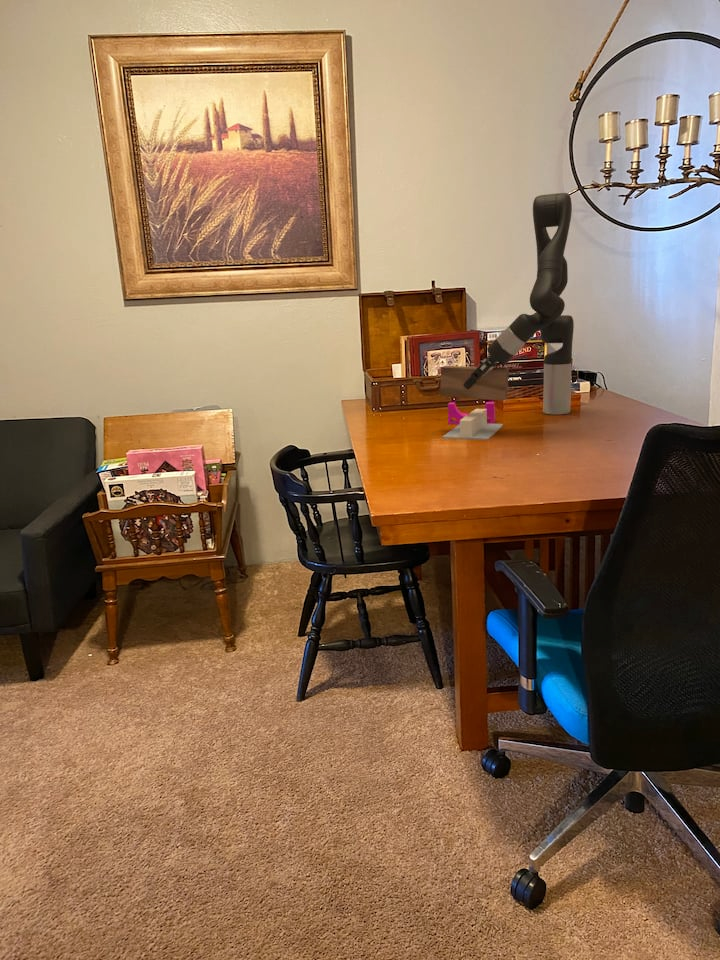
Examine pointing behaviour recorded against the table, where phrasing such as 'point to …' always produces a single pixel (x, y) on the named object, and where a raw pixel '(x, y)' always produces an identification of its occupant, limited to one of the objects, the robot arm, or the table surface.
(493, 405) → the magenta curved piece
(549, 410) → the robot arm
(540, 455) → the table surface
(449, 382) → the beam
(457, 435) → the fulcrum
